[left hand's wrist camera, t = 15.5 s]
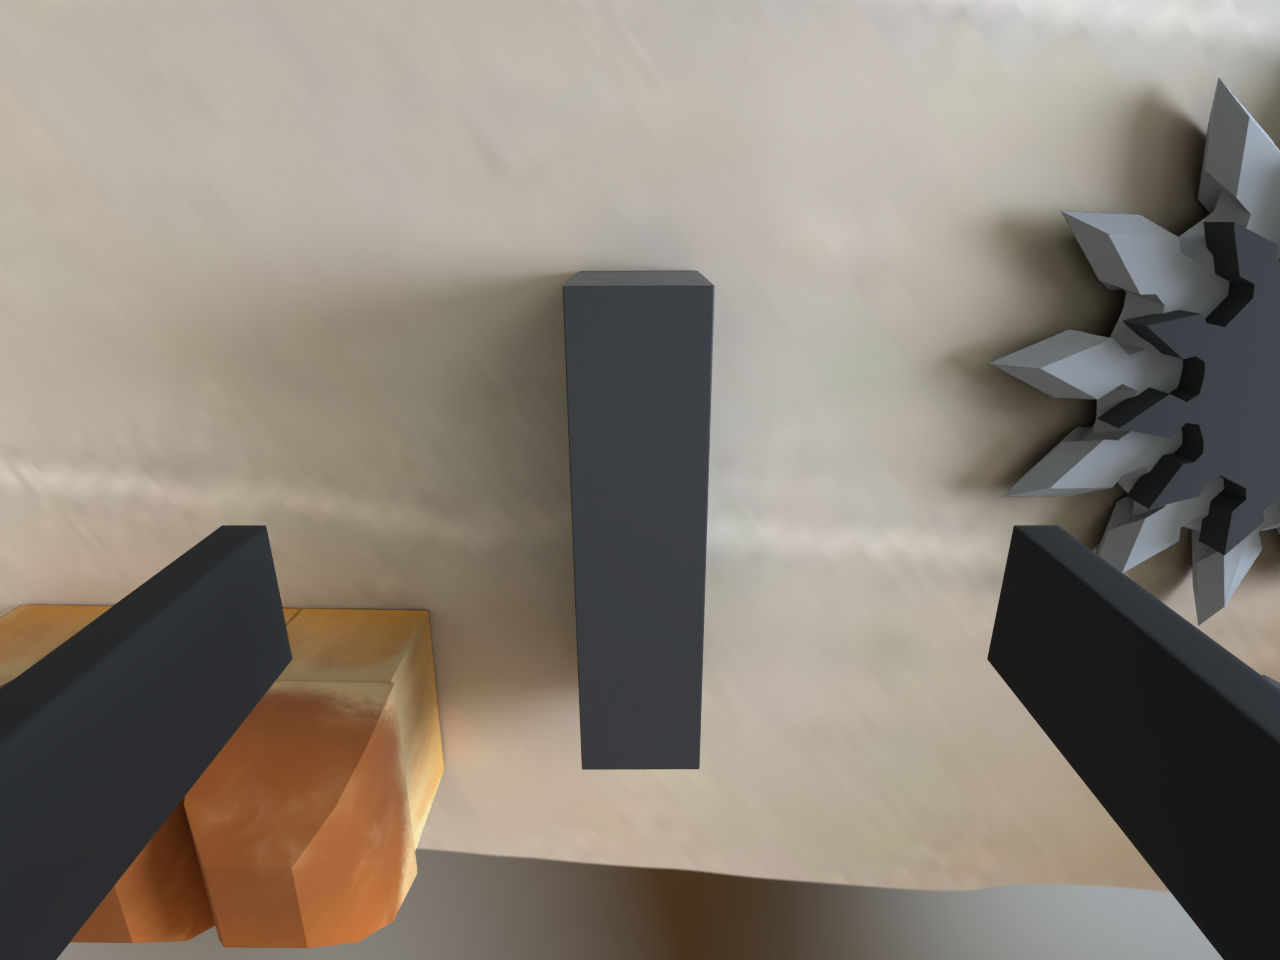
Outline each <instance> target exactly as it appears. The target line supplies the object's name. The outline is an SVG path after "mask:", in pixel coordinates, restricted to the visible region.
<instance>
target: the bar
mask: <svg viewBox="0 0 1280 960" xmlns="http://www.w3.org/2000/svg"><path fill="white" fill-rule="evenodd" d="M563 306H564V331H565V356H566V381H567V406H568V431H569V456H570V481H571V506H572V531H573V556H574V581H575V606H576V631H577V656H578V681H579V706H580V731H581V756H582V769H699V765H700V733H701V701H702V670H703V638H704V606H705V574H706V542H707V510H708V478H709V446H710V415H711V383H712V351H713V319H714V285H713V284H712V283H711V282H709V281H708V280H707V279H706V278H705V277H704V276H703V275H701V274H700V273H699V272H698V271H580V272H579V273H578V274H577V275H575V276H574V277H573V278H572V279H571V280H570V281H569V282H567V283H566V284H565V285H564V286H563Z"/></svg>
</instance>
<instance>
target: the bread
mask: <svg viewBox="0 0 1280 960" xmlns="http://www.w3.org/2000/svg"><path fill="white" fill-rule="evenodd" d="M111 607H113V606H73V605H20V606H19V607H17V608H15V609H14V610H12V611H11V612H9V613H7V614H6V615H4V616H3V617H1V618H0V686H1V685H3V684H5V683H7V682H9V681H11V680H13V679H15V678H16V677H17V676H19V675H20V674H22V673H23V672H24V671H26V670H27V669H28V668H30V667H31V666H32V665H34V664H35V663H36V662H38V661H39V660H41V659H42V658H43V657H45V656H46V655H47V654H49V653H50V652H51V651H53V650H54V649H55V648H57V647H58V646H60V645H61V644H62V643H64V642H65V641H66V640H68V639H69V638H70V637H72V636H73V635H74V634H76V633H77V632H79V631H80V630H81V629H83V628H84V627H85V626H87V625H88V624H89V623H91V622H92V621H94V620H95V619H96V618H98V617H99V616H100V615H102V614H103V613H104V612H106V611H107V610H108V609H110V608H111ZM283 613H284V618H285V623H286V628H287V633H288V638H289V643H290V648H291V653H292V658H293V659H292V661H291V662H290V663H289V664H288V666H287V667H286V668H285V670H284V671H283V672H282V673H281V675H280V676H279V677H278V678H277V680H276V681H275V682H274V684H273V685H272V686H271V687H270V689H269V690H268V691H267V692H266V694H265V695H264V696H263V698H262V699H261V700H260V701H259V703H258V704H257V705H256V706H255V708H254V709H253V710H252V711H251V713H250V714H249V715H248V717H247V718H246V719H245V720H244V722H243V723H242V724H241V725H240V727H239V728H238V729H237V731H236V732H235V733H234V734H233V736H232V737H231V738H230V739H229V741H228V742H227V743H226V745H225V746H224V747H223V748H222V750H221V751H220V752H219V753H218V755H217V756H216V757H215V758H214V760H213V761H212V762H211V764H210V765H209V766H208V767H207V769H206V770H205V771H204V772H203V774H202V775H201V776H200V778H199V779H198V780H197V781H196V783H195V784H194V785H193V786H192V788H191V789H190V790H189V792H188V793H187V794H186V795H185V797H184V798H183V799H182V800H181V802H180V803H179V804H178V806H177V807H176V808H175V809H174V811H173V812H172V813H171V814H170V816H169V817H168V818H167V819H166V821H165V822H164V823H163V825H162V826H161V827H160V828H159V830H158V831H157V832H156V833H155V835H154V836H153V837H152V839H151V840H150V841H149V842H148V844H147V845H146V846H145V847H144V849H143V850H142V851H141V853H140V854H139V855H138V856H137V858H136V859H135V860H134V861H133V863H132V864H131V865H130V866H129V868H128V869H127V870H126V872H125V873H124V874H123V875H122V877H121V878H120V879H119V880H118V882H117V883H116V884H115V886H114V887H113V888H112V889H111V891H110V892H109V893H108V894H107V896H106V897H105V898H104V900H103V901H102V902H101V903H100V905H99V906H98V907H97V908H96V910H95V911H94V912H93V914H92V915H91V916H90V917H89V919H88V920H87V921H86V922H85V924H84V925H83V926H82V927H81V929H80V930H79V931H78V933H77V934H76V935H75V936H74V938H73V939H72V940H71V941H70V942H105V943H142V942H172V941H188V940H189V939H191V938H193V937H195V936H197V935H199V934H200V933H202V932H204V931H206V930H208V929H210V928H211V927H213V926H215V925H216V929H217V933H218V937H219V940H220V942H221V943H222V945H223V946H224V947H244V948H245V947H246V948H313V947H321V946H329V945H337V944H345V943H353V942H359V941H360V940H362V939H364V938H365V937H367V936H369V935H371V934H372V933H374V932H376V931H377V930H379V929H381V928H382V927H384V926H386V925H388V924H389V923H391V922H393V920H394V918H395V916H396V914H397V912H398V910H399V908H400V906H401V904H402V902H403V900H404V898H405V896H406V894H407V893H408V890H409V888H410V887H411V885H412V883H413V881H414V879H415V877H416V875H417V865H416V857H415V850H416V847H417V844H418V842H419V839H420V836H421V833H422V830H423V828H424V825H425V822H426V819H427V816H428V813H429V811H430V808H431V805H432V802H433V799H434V797H435V794H436V791H437V788H438V785H439V782H440V780H441V777H442V774H443V771H444V763H443V753H442V742H441V732H440V722H439V712H438V702H437V691H436V681H435V671H434V661H433V651H432V640H431V630H430V620H429V610H358V609H286V608H283Z"/></svg>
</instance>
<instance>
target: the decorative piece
mask: <svg viewBox="0 0 1280 960" xmlns="http://www.w3.org/2000/svg"><path fill="white" fill-rule="evenodd" d="M1198 200H1199V201H1200V203H1201V204H1202V205H1203V206H1204V207H1205V208H1206V209H1207V211H1208V212H1209V213H1210V215H1208V216H1207V217H1205V218H1204V219H1203V220H1201V221H1200V222H1198V223H1197V224H1196V225H1194V226H1193V227H1192V228H1190V229H1189V230H1187V231H1186V232H1185V233H1183V234H1182V235H1180V236H1179V237H1177V236H1176V235H1174V234H1172V233H1171V232H1169V231H1167V230H1165V229H1164V228H1162V227H1160V226H1159V225H1157V224H1155V223H1154V222H1152V221H1150V220H1148V219H1147V218H1145V217H1143V216H1142V215H1136V214H1114V213H1093V212H1072V211H1061V212H1062V214H1063V215H1064V217H1065V219H1066V221H1067V223H1068V225H1069V226H1070V228H1071V230H1072V232H1073V234H1074V236H1075V237H1076V239H1077V241H1078V243H1079V245H1080V246H1081V248H1082V250H1083V252H1084V254H1085V256H1086V257H1087V259H1088V261H1089V263H1090V265H1091V266H1092V268H1093V270H1094V272H1095V274H1096V276H1097V277H1098V279H1099V281H1100V282H1101V283H1103V284H1104V285H1105V286H1106V287H1107V288H1108V289H1109V290H1123V289H1124V290H1125V292H1126V297H1125V302H1124V307H1123V310H1122V312H1121V315H1120V317H1119V320H1118V322H1117V324H1116V326H1115V328H1114V330H1113V332H1112V334H1111V336H1110V338H1108V337H1103V336H1098V335H1093V334H1089V333H1085V332H1084V331H1078V330H1066V331H1064V332H1062V333H1059V334H1057V335H1054V336H1052V337H1050V338H1047V339H1045V340H1042V341H1040V342H1038V343H1035V344H1033V345H1031V346H1028V347H1026V348H1023V349H1021V350H1019V351H1016V352H1014V353H1011V354H1009V355H1007V356H1004V357H1002V358H999V359H997V360H995V361H992V362H990V363H989V364H991V365H993V366H995V367H997V368H999V369H1001V370H1002V371H1004V372H1006V373H1008V374H1010V375H1012V376H1014V377H1016V378H1017V379H1019V380H1021V381H1023V382H1025V383H1027V384H1029V385H1031V386H1032V387H1034V388H1036V389H1038V390H1040V391H1042V392H1044V393H1046V394H1048V395H1049V396H1051V397H1053V398H1073V399H1097V414H1096V421H1095V424H1094V425H1093V426H1091V427H1076V428H1075V429H1074V430H1073V431H1072V432H1070V433H1069V434H1068V435H1067V436H1066V437H1065V438H1064V439H1063V440H1062V441H1061V442H1059V443H1058V444H1057V445H1056V446H1055V447H1054V448H1053V449H1052V450H1051V451H1050V452H1049V453H1047V454H1046V455H1045V456H1044V457H1043V458H1042V459H1041V460H1040V461H1039V462H1038V463H1036V464H1035V465H1034V466H1033V467H1032V468H1031V469H1030V470H1029V471H1028V472H1027V473H1026V474H1025V475H1024V476H1023V477H1022V478H1021V479H1020V480H1019V481H1018V482H1017V483H1016V484H1015V485H1013V486H1012V487H1011V488H1010V489H1009V490H1008V491H1007V492H1006V493H1005V494H1004V495H1003V496H1002V497H1015V496H1074V495H1079V494H1084V493H1089V492H1094V491H1098V490H1103V489H1108V488H1113V486H1114V485H1115V484H1116V482H1117V483H1118V484H1119V485H1120V486H1121V487H1122V488H1123V489H1124V490H1125V491H1126V492H1127V493H1128V494H1127V495H1126V496H1125V497H1124V498H1122V499H1120V500H1119V501H1117V503H1116V505H1115V508H1114V510H1113V513H1112V515H1111V517H1110V520H1109V522H1108V525H1107V527H1106V530H1105V532H1104V535H1103V537H1102V540H1101V542H1100V544H1099V547H1098V549H1097V552H1096V554H1097V555H1098V556H1100V557H1101V558H1102V559H1104V560H1105V561H1106V562H1108V563H1109V564H1110V565H1112V566H1113V567H1115V568H1116V569H1117V570H1119V571H1120V572H1121V573H1124V572H1126V571H1127V570H1129V569H1131V568H1133V567H1135V566H1136V565H1138V564H1140V563H1142V562H1143V561H1145V560H1147V559H1149V558H1150V557H1152V556H1154V555H1156V554H1157V553H1159V552H1161V551H1163V550H1164V549H1166V548H1168V547H1170V546H1171V545H1173V544H1175V543H1177V542H1178V541H1179V537H1180V529H1181V528H1182V527H1186V528H1189V529H1192V530H1191V532H1192V568H1193V589H1194V597H1195V604H1196V612H1197V619H1198V626H1199V625H1200V624H1202V623H1203V622H1204V621H1206V620H1207V619H1208V618H1210V617H1211V616H1212V615H1214V614H1215V613H1216V612H1218V611H1219V610H1220V609H1222V608H1223V607H1224V606H1225V605H1226V604H1227V602H1228V600H1229V599H1230V597H1231V596H1232V594H1233V593H1234V591H1235V590H1236V588H1237V587H1238V585H1239V584H1240V582H1241V581H1242V579H1243V578H1244V576H1245V575H1246V573H1247V572H1248V570H1249V569H1250V567H1251V565H1252V564H1253V562H1254V561H1255V559H1256V558H1257V556H1258V555H1259V553H1260V552H1261V550H1262V545H1261V540H1260V535H1259V532H1260V531H1265V530H1269V529H1274V528H1276V529H1277V531H1278V532H1279V534H1280V150H1279V149H1278V147H1277V146H1276V145H1275V144H1274V142H1273V141H1272V140H1271V138H1270V137H1269V136H1268V134H1267V133H1266V132H1265V131H1264V130H1263V129H1262V127H1261V126H1260V125H1259V124H1258V123H1257V122H1256V120H1255V119H1254V118H1253V117H1252V116H1251V115H1250V113H1249V112H1248V111H1247V110H1246V109H1245V108H1244V106H1243V105H1242V104H1241V103H1240V102H1239V101H1238V99H1237V98H1236V97H1235V96H1234V95H1233V94H1232V92H1231V91H1230V90H1229V89H1228V88H1227V86H1226V85H1225V84H1224V83H1223V82H1222V81H1221V79H1220V78H1218V83H1217V87H1216V92H1215V96H1214V101H1213V105H1212V110H1211V114H1210V119H1209V123H1208V130H1207V137H1206V144H1205V151H1204V157H1203V164H1202V171H1201V178H1200V185H1199V192H1198Z"/></svg>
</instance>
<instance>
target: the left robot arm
mask: <svg viewBox="0 0 1280 960" xmlns="http://www.w3.org/2000/svg"><path fill="white" fill-rule="evenodd" d="M292 659H293V658H292V653H291V648H290V643H289V638H288V633H287V628H286V623H285V618H284V613H283V608H282V603H281V598H280V593H279V588H278V583H277V578H276V573H275V568H274V563H273V558H272V553H271V548H270V543H269V538H268V533H267V528H266V526H221V527H220V528H218V529H217V530H216V531H214V532H213V533H212V534H210V535H209V536H208V537H206V538H205V539H203V540H202V541H201V542H199V543H198V544H197V545H195V546H194V547H193V548H191V549H190V550H189V551H187V552H186V553H184V554H183V555H182V556H180V557H179V558H178V559H176V560H175V561H174V562H172V563H171V564H170V565H168V566H167V567H165V568H164V569H163V570H161V571H160V572H159V573H157V574H156V575H155V576H153V577H152V578H151V579H149V580H148V581H146V582H145V583H144V584H142V585H141V586H140V587H138V588H137V589H136V590H134V591H133V592H132V593H130V594H129V595H127V596H126V597H125V598H123V599H122V600H121V601H119V602H118V603H117V604H115V605H114V606H113V607H111V608H110V609H108V610H107V611H106V612H104V613H103V614H102V615H100V616H99V617H98V618H96V619H95V620H94V621H92V622H91V623H89V624H88V625H87V626H85V627H84V628H83V629H81V630H80V631H79V632H77V633H76V634H74V635H73V636H72V637H70V638H69V639H68V640H66V641H65V642H64V643H62V644H61V645H60V646H58V647H57V648H55V649H54V650H53V651H51V652H50V653H49V654H47V655H46V656H45V657H43V658H42V659H41V660H39V661H38V662H36V663H35V664H34V665H32V666H31V667H30V668H28V669H27V670H26V671H24V672H23V673H22V674H20V675H19V676H17V677H16V678H15V679H13V680H11V681H9V682H7V683H5V684H3V685H1V686H0V960H56V959H57V958H58V957H59V955H60V954H61V953H62V952H63V950H64V949H65V948H66V947H67V945H68V944H69V943H70V941H71V940H72V939H73V938H74V936H75V935H76V934H77V933H78V931H79V930H80V929H81V927H82V926H83V925H84V924H85V922H86V921H87V920H88V919H89V917H90V916H91V915H92V914H93V912H94V911H95V910H96V908H97V907H98V906H99V905H100V903H101V902H102V901H103V900H104V898H105V897H106V896H107V894H108V893H109V892H110V891H111V889H112V888H113V887H114V886H115V884H116V883H117V882H118V880H119V879H120V878H121V877H122V875H123V874H124V873H125V872H126V870H127V869H128V868H129V866H130V865H131V864H132V863H133V861H134V860H135V859H136V858H137V856H138V855H139V854H140V853H141V851H142V850H143V849H144V847H145V846H146V845H147V844H148V842H149V841H150V840H151V839H152V837H153V836H154V835H155V833H156V832H157V831H158V830H159V828H160V827H161V826H162V825H163V823H164V822H165V821H166V819H167V818H168V817H169V816H170V814H171V813H172V812H173V811H174V809H175V808H176V807H177V806H178V804H179V803H180V802H181V800H182V799H183V798H184V797H185V795H186V794H187V793H188V792H189V790H190V789H191V788H192V786H193V785H194V784H195V783H196V781H197V780H198V779H199V778H200V776H201V775H202V774H203V772H204V771H205V770H206V769H207V767H208V766H209V765H210V764H211V762H212V761H213V760H214V758H215V757H216V756H217V755H218V753H219V752H220V751H221V750H222V748H223V747H224V746H225V745H226V743H227V742H228V741H229V739H230V738H231V737H232V736H233V734H234V733H235V732H236V731H237V729H238V728H239V727H240V725H241V724H242V723H243V722H244V720H245V719H246V718H247V717H248V715H249V714H250V713H251V711H252V710H253V709H254V708H255V706H256V705H257V704H258V703H259V701H260V700H261V699H262V698H263V696H264V695H265V694H266V692H267V691H268V690H269V689H270V687H271V686H272V685H273V684H274V682H275V681H276V680H277V678H278V677H279V676H280V675H281V673H282V672H283V671H284V670H285V668H286V667H287V666H288V664H289V663H290V662H291V661H292ZM987 659H988V661H989V662H990V663H991V664H992V666H993V667H994V668H995V670H996V671H997V672H998V673H999V675H1000V676H1001V677H1002V678H1003V680H1004V681H1005V682H1006V684H1007V685H1008V686H1009V687H1010V689H1011V690H1012V691H1013V692H1014V694H1015V695H1016V696H1017V698H1018V699H1019V700H1020V701H1021V703H1022V704H1023V705H1024V706H1025V708H1026V709H1027V710H1028V711H1029V713H1030V714H1031V715H1032V717H1033V718H1034V719H1035V720H1036V722H1037V723H1038V724H1039V725H1040V727H1041V728H1042V729H1043V731H1044V732H1045V733H1046V734H1047V736H1048V737H1049V738H1050V739H1051V741H1052V742H1053V743H1054V745H1055V746H1056V747H1057V748H1058V750H1059V751H1060V752H1061V753H1062V755H1063V756H1064V757H1065V758H1066V760H1067V761H1068V762H1069V764H1070V765H1071V766H1072V767H1073V769H1074V770H1075V771H1076V772H1077V774H1078V775H1079V776H1080V778H1081V779H1082V780H1083V781H1084V783H1085V784H1086V785H1087V786H1088V788H1089V789H1090V790H1091V792H1092V793H1093V794H1094V795H1095V797H1096V798H1097V799H1098V800H1099V802H1100V803H1101V804H1102V806H1103V807H1104V808H1105V809H1106V811H1107V812H1108V813H1109V814H1110V816H1111V817H1112V818H1113V819H1114V821H1115V822H1116V823H1117V825H1118V826H1119V827H1120V828H1121V830H1122V831H1123V832H1124V833H1125V835H1126V836H1127V837H1128V839H1129V840H1130V841H1131V842H1132V844H1133V845H1134V846H1135V847H1136V849H1137V850H1138V851H1139V853H1140V854H1141V855H1142V856H1143V858H1144V859H1145V860H1146V861H1147V863H1148V864H1149V865H1150V866H1151V868H1152V869H1153V870H1154V872H1155V873H1156V874H1157V875H1158V877H1159V878H1160V879H1161V880H1162V882H1163V883H1164V884H1165V886H1166V887H1167V888H1168V889H1169V891H1170V892H1171V893H1172V894H1173V896H1174V897H1175V898H1176V900H1177V901H1178V902H1179V903H1180V904H1181V906H1182V907H1183V908H1184V910H1185V911H1186V912H1187V913H1188V915H1189V916H1190V917H1191V918H1192V920H1193V921H1194V922H1195V924H1196V925H1197V926H1198V927H1199V929H1200V930H1201V931H1202V933H1203V934H1204V935H1205V936H1206V938H1207V939H1208V940H1209V941H1210V943H1211V944H1212V945H1213V947H1214V948H1215V949H1216V950H1217V952H1218V953H1219V954H1220V955H1221V957H1222V958H1223V959H1224V960H1280V683H1279V682H1277V681H1275V680H1273V679H1271V678H1269V677H1267V676H1265V675H1260V674H1258V673H1257V672H1256V671H1254V670H1253V669H1252V668H1250V667H1249V666H1248V665H1246V664H1245V663H1244V662H1242V661H1241V660H1239V659H1238V658H1237V657H1235V656H1234V655H1233V654H1231V653H1230V652H1229V651H1227V650H1226V649H1225V648H1223V647H1222V646H1220V645H1219V644H1218V643H1216V642H1215V641H1214V640H1212V639H1211V638H1210V637H1208V636H1207V635H1206V634H1204V633H1203V632H1201V631H1200V630H1199V629H1197V628H1196V627H1195V626H1193V625H1192V624H1191V623H1189V622H1188V621H1187V620H1185V619H1184V618H1182V617H1181V616H1180V615H1178V614H1177V613H1176V612H1174V611H1173V610H1172V609H1170V608H1169V607H1167V606H1166V605H1165V604H1163V603H1162V602H1161V601H1159V600H1158V599H1157V598H1155V597H1154V596H1153V595H1151V594H1150V593H1148V592H1147V591H1146V590H1144V589H1143V588H1142V587H1140V586H1139V585H1138V584H1136V583H1135V582H1134V581H1132V580H1131V579H1129V578H1128V577H1127V576H1125V575H1124V574H1123V573H1121V572H1120V571H1119V570H1117V569H1116V568H1115V567H1113V566H1112V565H1110V564H1109V563H1108V562H1106V561H1105V560H1104V559H1102V558H1101V557H1100V556H1098V555H1097V554H1096V553H1094V552H1093V551H1091V550H1090V549H1089V548H1087V547H1086V546H1085V545H1083V544H1082V543H1081V542H1079V541H1078V540H1077V539H1075V538H1074V537H1072V536H1071V535H1070V534H1068V533H1067V532H1066V531H1064V530H1063V529H1062V528H1060V527H1059V526H1014V528H1013V533H1012V538H1011V543H1010V548H1009V553H1008V558H1007V563H1006V568H1005V573H1004V578H1003V583H1002V588H1001V593H1000V598H999V603H998V608H997V613H996V618H995V623H994V628H993V633H992V638H991V643H990V648H989V653H988V658H987Z"/></svg>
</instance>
